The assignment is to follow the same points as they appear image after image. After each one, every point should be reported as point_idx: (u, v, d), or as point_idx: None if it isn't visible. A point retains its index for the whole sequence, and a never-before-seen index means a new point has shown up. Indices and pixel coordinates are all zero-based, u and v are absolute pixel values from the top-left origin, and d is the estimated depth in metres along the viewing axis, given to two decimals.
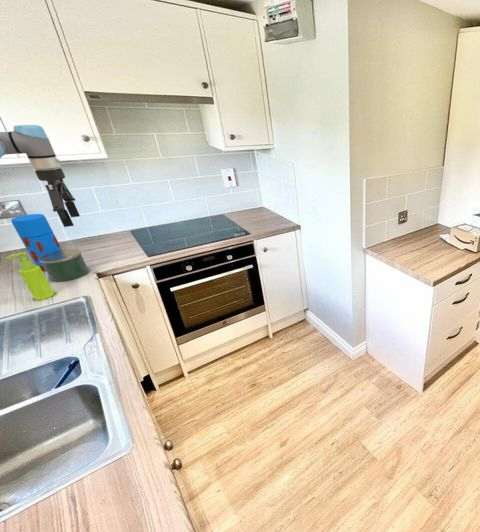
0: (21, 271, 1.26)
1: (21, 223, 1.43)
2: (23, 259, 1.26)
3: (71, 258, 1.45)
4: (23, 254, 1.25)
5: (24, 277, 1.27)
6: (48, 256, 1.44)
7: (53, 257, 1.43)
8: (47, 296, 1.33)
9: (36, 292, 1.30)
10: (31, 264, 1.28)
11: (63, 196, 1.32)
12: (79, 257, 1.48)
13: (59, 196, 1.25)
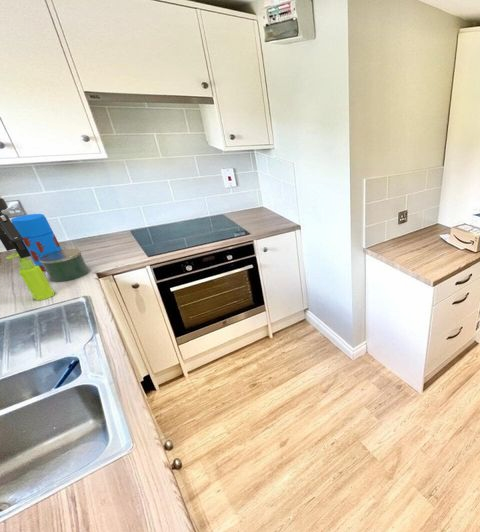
0: (21, 271, 1.26)
1: (21, 223, 1.43)
2: (23, 259, 1.26)
3: (71, 258, 1.45)
4: None
5: (24, 277, 1.27)
6: (48, 256, 1.44)
7: (53, 257, 1.43)
8: (47, 296, 1.33)
9: (36, 292, 1.30)
10: (31, 264, 1.28)
11: None
12: (79, 257, 1.48)
13: None
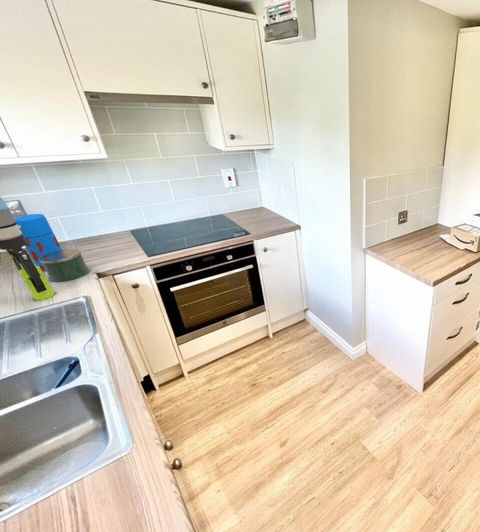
0: (21, 271, 1.26)
1: (21, 223, 1.43)
2: None
3: (71, 258, 1.45)
4: None
5: (24, 277, 1.27)
6: (48, 256, 1.44)
7: (53, 257, 1.43)
8: (47, 296, 1.33)
9: (36, 292, 1.30)
10: None
11: None
12: (79, 257, 1.48)
13: None
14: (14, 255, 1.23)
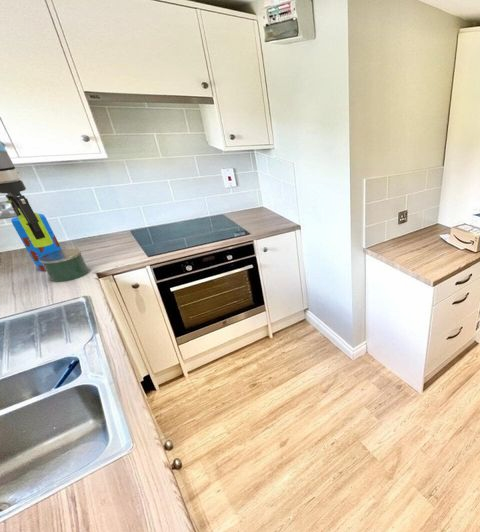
0: (20, 217, 1.28)
1: None
2: None
3: (71, 258, 1.45)
4: None
5: (23, 223, 1.29)
6: (48, 256, 1.44)
7: (53, 257, 1.43)
8: (46, 244, 1.35)
9: (35, 239, 1.32)
10: None
11: None
12: (79, 257, 1.48)
13: None
14: (13, 199, 1.25)
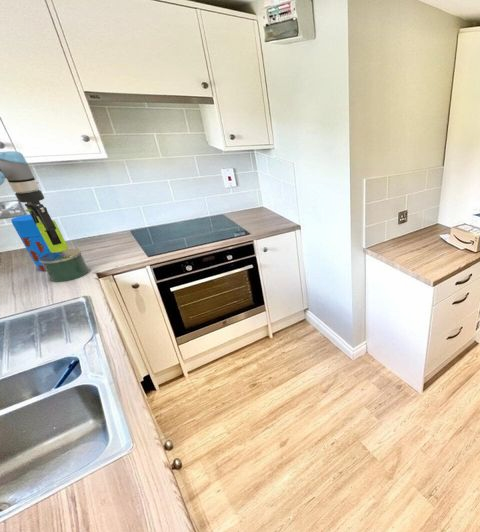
0: (38, 224, 1.37)
1: (21, 223, 1.43)
2: None
3: (71, 258, 1.45)
4: None
5: (41, 230, 1.38)
6: (48, 256, 1.44)
7: (53, 257, 1.43)
8: (62, 249, 1.44)
9: (52, 244, 1.41)
10: None
11: (38, 220, 1.39)
12: (79, 257, 1.48)
13: None
14: (32, 208, 1.34)
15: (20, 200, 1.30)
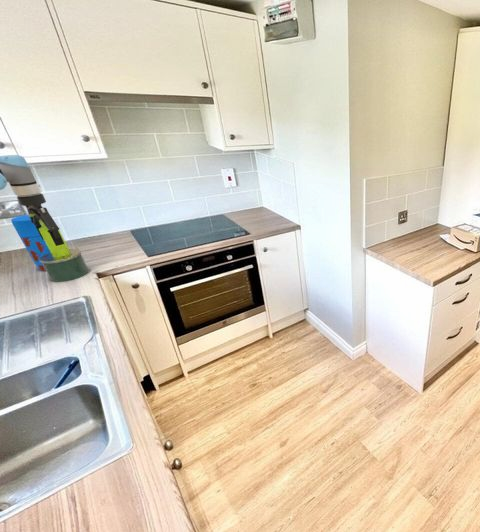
0: (41, 229, 1.38)
1: (21, 223, 1.43)
2: None
3: (71, 258, 1.45)
4: None
5: (44, 235, 1.39)
6: (48, 256, 1.44)
7: (53, 257, 1.43)
8: (64, 254, 1.45)
9: (54, 249, 1.42)
10: None
11: (36, 220, 1.40)
12: (79, 257, 1.48)
13: None
14: (34, 211, 1.34)
15: (22, 203, 1.31)
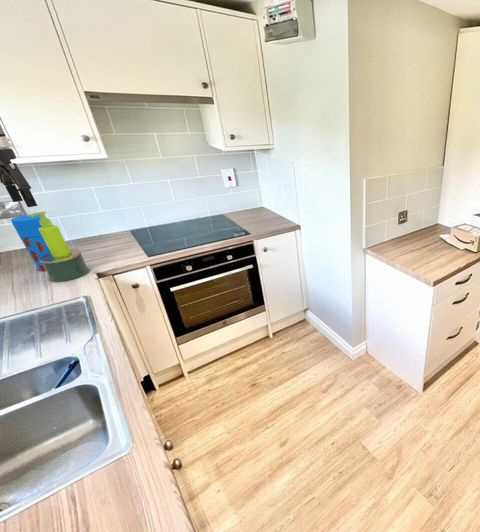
0: (41, 229, 1.38)
1: (21, 223, 1.43)
2: (43, 218, 1.38)
3: (71, 258, 1.45)
4: (43, 213, 1.37)
5: (44, 235, 1.39)
6: (48, 256, 1.44)
7: (53, 257, 1.43)
8: (64, 254, 1.45)
9: (54, 249, 1.42)
10: (50, 223, 1.40)
11: (6, 179, 1.27)
12: (79, 257, 1.48)
13: None
14: (2, 167, 1.21)
15: None
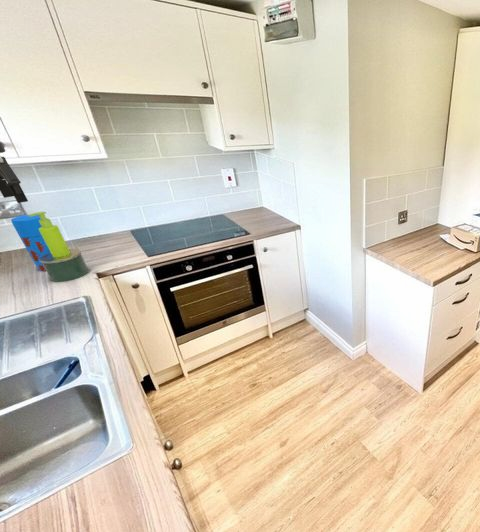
0: (41, 229, 1.38)
1: (21, 223, 1.43)
2: (43, 218, 1.38)
3: (71, 258, 1.45)
4: (43, 213, 1.37)
5: (44, 235, 1.39)
6: (48, 256, 1.44)
7: (53, 257, 1.43)
8: (64, 254, 1.45)
9: (54, 249, 1.42)
10: (50, 223, 1.40)
11: None
12: (79, 257, 1.48)
13: None
14: None
15: None
